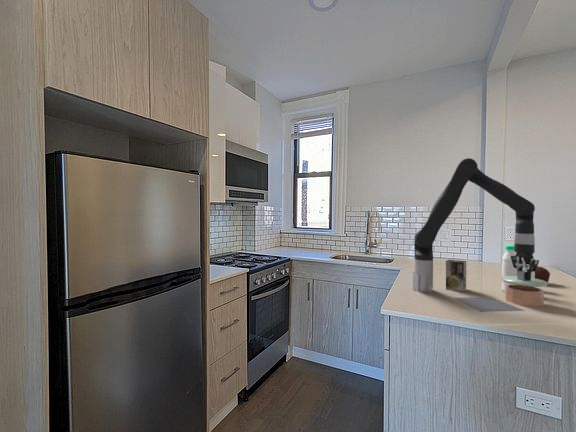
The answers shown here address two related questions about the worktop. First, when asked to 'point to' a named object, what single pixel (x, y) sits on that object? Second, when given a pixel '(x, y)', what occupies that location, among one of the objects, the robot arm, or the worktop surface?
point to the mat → (487, 304)
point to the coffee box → (456, 275)
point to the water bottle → (508, 264)
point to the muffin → (542, 274)
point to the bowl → (524, 295)
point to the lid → (521, 280)
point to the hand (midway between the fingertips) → (523, 278)
